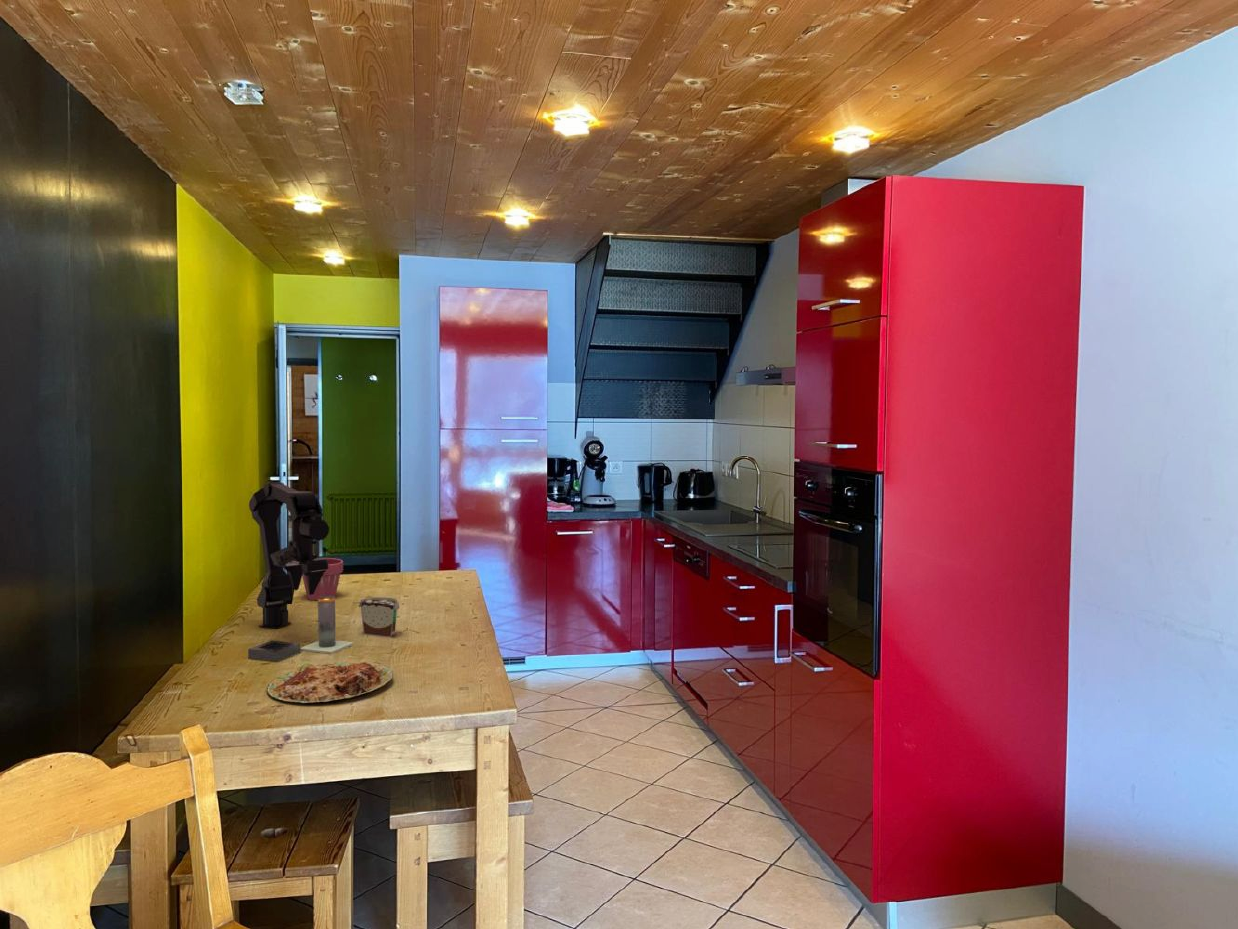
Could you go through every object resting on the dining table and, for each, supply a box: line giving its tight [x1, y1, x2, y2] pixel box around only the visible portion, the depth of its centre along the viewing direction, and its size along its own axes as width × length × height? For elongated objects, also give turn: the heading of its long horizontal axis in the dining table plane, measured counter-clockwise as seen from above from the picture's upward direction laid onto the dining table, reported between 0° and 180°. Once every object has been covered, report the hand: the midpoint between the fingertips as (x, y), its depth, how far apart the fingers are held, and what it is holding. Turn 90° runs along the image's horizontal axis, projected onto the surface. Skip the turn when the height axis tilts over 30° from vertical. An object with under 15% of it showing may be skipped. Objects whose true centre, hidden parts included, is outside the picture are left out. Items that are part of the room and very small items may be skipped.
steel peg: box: [317, 596, 337, 648], centre depth 230 cm, size 4×4×13 cm
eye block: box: [247, 639, 302, 663], centre depth 223 cm, size 9×9×2 cm
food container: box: [358, 596, 400, 638], centre depth 246 cm, size 12×6×10 cm, turn 71°
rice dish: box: [266, 660, 394, 704], centre depth 199 cm, size 28×28×5 cm
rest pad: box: [301, 640, 355, 655], centre depth 231 cm, size 10×10×1 cm
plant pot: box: [302, 557, 344, 601], centre depth 292 cm, size 14×14×13 cm
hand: (303, 592), depth 239 cm, fingers open, 9 cm apart
